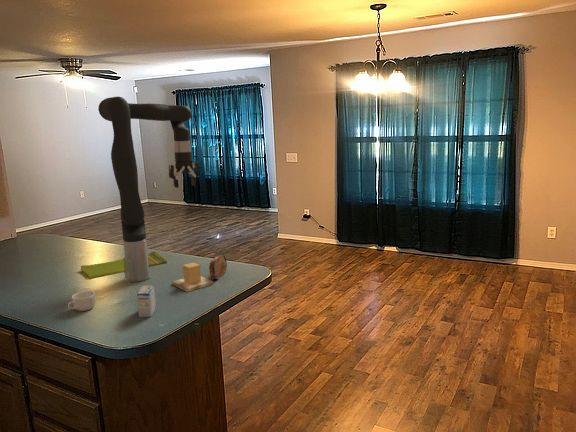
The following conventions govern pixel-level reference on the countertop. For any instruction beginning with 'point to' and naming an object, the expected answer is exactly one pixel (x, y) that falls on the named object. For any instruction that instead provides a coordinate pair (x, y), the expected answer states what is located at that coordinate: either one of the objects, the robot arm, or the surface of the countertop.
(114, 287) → the countertop surface
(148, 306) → the medicine box
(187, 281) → the ochre block
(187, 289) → the birch board
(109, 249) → the countertop surface
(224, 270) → the tin
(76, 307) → the teacup
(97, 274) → the dish towel
